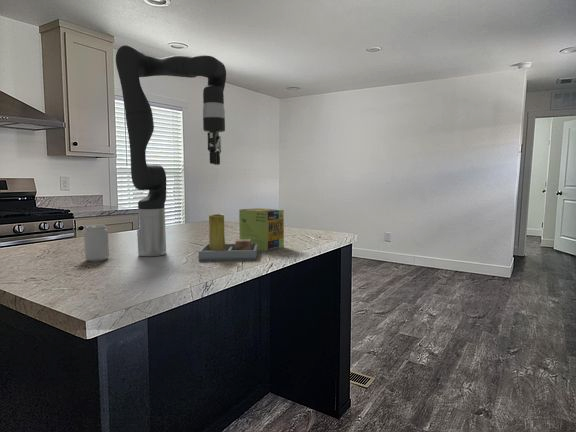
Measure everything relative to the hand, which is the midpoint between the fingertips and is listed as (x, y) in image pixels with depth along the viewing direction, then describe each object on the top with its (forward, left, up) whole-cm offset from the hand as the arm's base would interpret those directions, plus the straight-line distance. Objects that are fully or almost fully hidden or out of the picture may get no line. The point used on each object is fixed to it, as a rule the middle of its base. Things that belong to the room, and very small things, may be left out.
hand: (215, 164), depth 138 cm
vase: (0, 0, -32) cm, 32 cm away
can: (-41, -3, -33) cm, 53 cm away
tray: (+5, 0, -33) cm, 33 cm away
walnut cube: (+9, 0, -32) cm, 34 cm away
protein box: (+16, +17, -33) cm, 41 cm away
